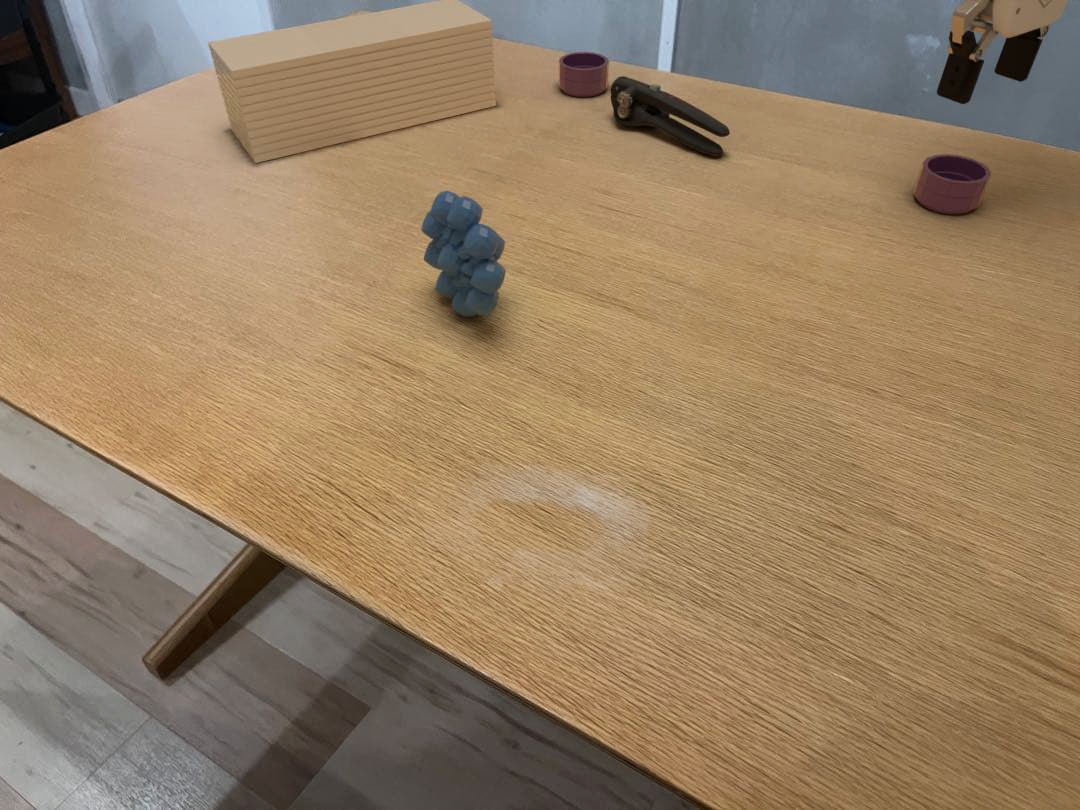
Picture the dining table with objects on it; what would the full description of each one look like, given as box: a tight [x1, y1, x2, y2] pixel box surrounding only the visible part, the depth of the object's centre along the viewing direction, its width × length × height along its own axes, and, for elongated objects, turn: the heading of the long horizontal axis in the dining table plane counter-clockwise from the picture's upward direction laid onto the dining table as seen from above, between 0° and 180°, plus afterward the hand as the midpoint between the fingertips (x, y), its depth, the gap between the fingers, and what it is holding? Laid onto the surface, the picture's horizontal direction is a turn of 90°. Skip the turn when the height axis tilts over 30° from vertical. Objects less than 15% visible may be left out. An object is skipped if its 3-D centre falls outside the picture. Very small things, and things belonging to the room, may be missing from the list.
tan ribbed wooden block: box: [207, 0, 497, 164], centre depth 102 cm, size 32×11×11 cm, turn 120°
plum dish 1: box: [558, 51, 610, 98], centre depth 111 cm, size 7×7×4 cm
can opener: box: [610, 75, 731, 157], centre depth 99 cm, size 18×7×6 cm, turn 41°
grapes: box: [421, 190, 507, 318], centre depth 70 cm, size 12×7×12 cm, turn 34°
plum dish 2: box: [913, 153, 992, 215], centre depth 87 cm, size 7×7×4 cm
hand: (981, 87), depth 80 cm, fingers open, 9 cm apart
